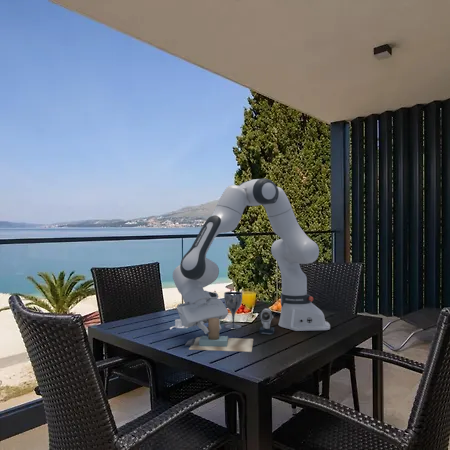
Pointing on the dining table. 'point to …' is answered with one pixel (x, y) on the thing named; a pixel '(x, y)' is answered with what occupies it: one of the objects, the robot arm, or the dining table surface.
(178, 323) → the grey hub with arms
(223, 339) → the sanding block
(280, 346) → the dining table surface
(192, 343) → the graphite chip
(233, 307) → the wine glass
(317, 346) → the dining table surface
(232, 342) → the pine board
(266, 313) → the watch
